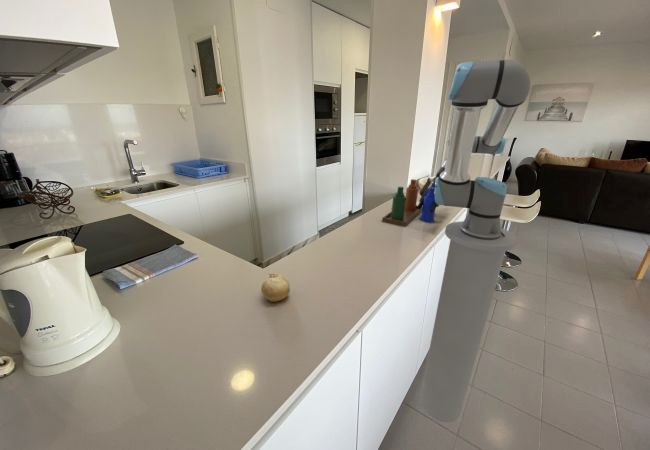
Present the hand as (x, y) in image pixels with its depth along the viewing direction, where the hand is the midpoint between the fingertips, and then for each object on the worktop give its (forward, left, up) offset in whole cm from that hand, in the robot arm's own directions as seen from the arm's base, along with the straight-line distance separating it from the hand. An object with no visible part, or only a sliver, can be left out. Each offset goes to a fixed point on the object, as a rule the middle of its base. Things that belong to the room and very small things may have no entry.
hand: (425, 209), depth 134 cm
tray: (+11, -3, -6) cm, 13 cm away
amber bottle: (+11, -13, -6) cm, 18 cm away
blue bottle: (-1, -3, -6) cm, 7 cm away
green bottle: (+11, +7, -6) cm, 14 cm away
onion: (+18, +86, -7) cm, 88 cm away
